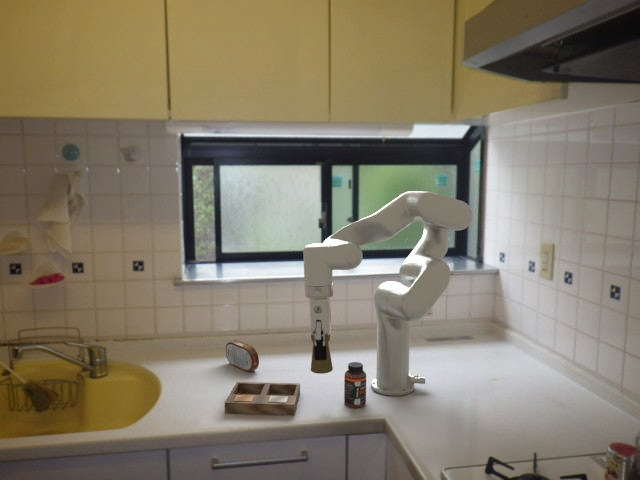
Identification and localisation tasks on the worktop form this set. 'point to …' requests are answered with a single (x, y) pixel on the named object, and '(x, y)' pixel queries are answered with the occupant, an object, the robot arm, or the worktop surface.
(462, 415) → the worktop surface
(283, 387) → the socket block
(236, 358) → the tin
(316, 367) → the olive piece
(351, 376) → the supplement bottle
